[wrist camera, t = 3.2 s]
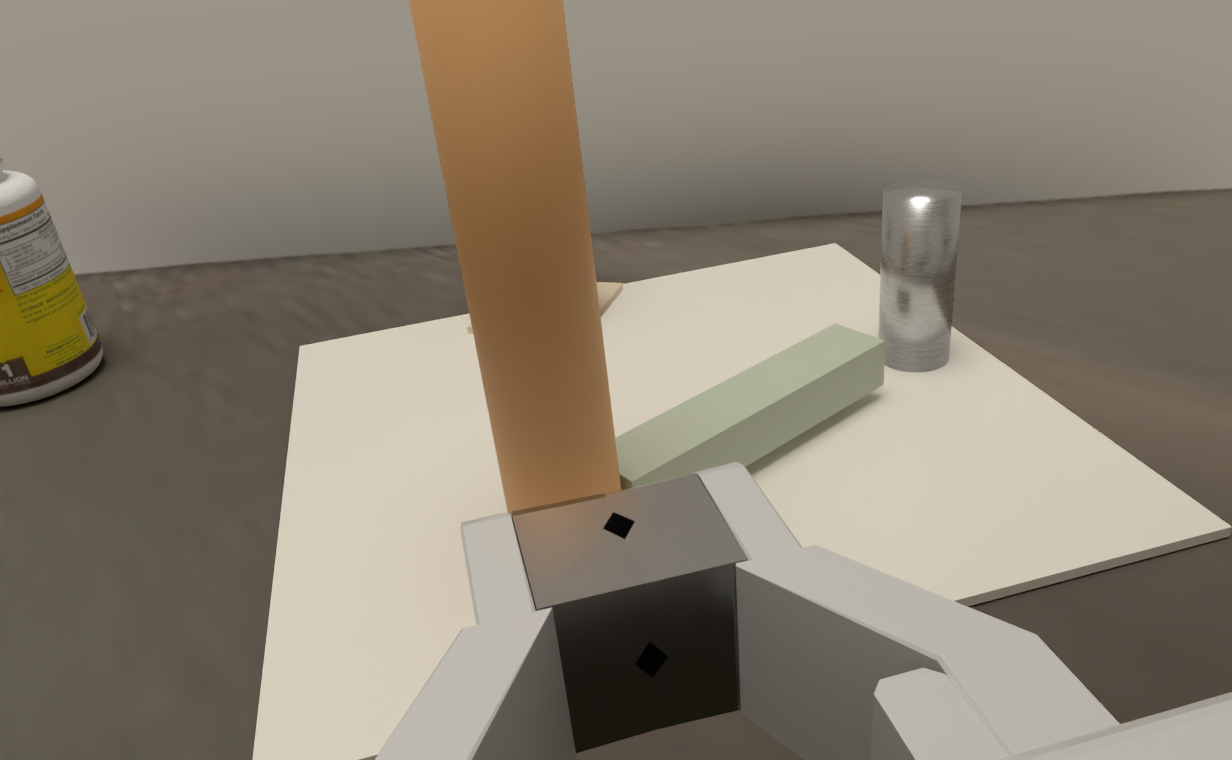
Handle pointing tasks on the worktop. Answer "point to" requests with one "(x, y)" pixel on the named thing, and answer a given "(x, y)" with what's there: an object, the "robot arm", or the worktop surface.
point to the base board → (640, 390)
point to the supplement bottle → (38, 301)
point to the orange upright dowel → (577, 279)
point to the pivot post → (918, 272)
